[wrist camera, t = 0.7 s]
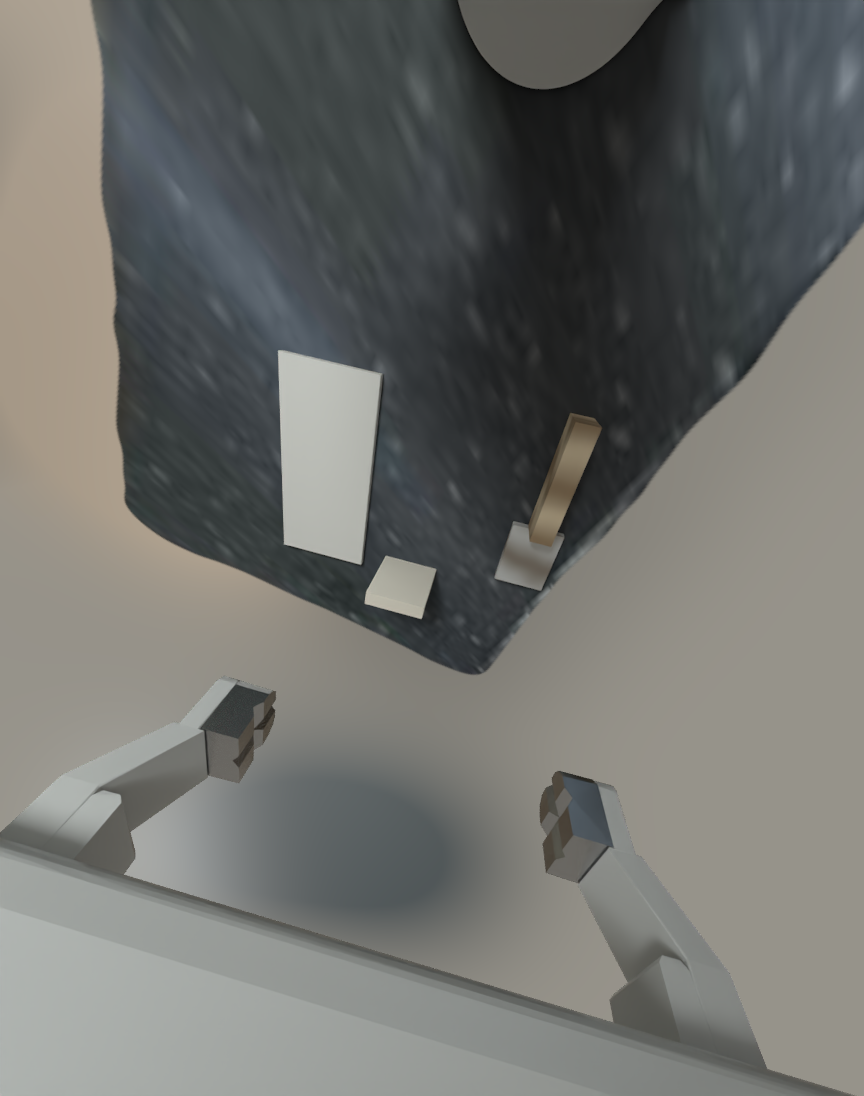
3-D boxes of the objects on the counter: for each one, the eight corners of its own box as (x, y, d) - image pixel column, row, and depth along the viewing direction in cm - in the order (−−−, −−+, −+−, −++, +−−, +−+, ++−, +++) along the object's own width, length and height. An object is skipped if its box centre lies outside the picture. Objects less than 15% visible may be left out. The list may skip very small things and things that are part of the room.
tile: (385, 555, 51) (366, 592, 44) (436, 569, 50) (424, 607, 44) (384, 567, 52) (364, 604, 45) (433, 580, 51) (421, 620, 45)
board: (282, 349, 40) (278, 350, 39) (383, 373, 39) (380, 374, 38) (287, 541, 52) (284, 544, 52) (363, 561, 52) (361, 564, 51)
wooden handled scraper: (552, 408, 38) (556, 417, 34) (612, 422, 37) (622, 432, 34) (494, 574, 49) (493, 592, 46) (540, 586, 49) (542, 606, 45)
